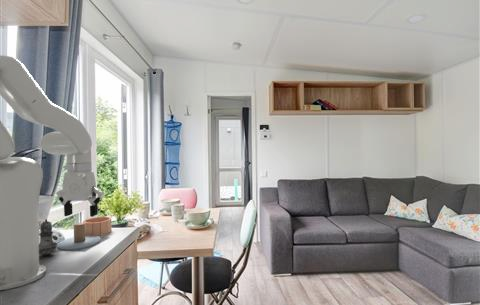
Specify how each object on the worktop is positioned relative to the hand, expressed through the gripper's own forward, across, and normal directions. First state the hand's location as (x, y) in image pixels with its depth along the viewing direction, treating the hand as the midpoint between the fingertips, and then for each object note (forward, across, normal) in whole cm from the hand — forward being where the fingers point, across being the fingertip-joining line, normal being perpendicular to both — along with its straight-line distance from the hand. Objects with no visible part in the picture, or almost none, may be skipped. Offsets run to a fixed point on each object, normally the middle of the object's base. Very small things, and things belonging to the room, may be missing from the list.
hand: (81, 215), depth 95 cm
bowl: (+11, -2, +12) cm, 16 cm away
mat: (+10, 0, -1) cm, 10 cm away
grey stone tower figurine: (+10, -3, -12) cm, 16 cm away
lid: (+10, 0, -1) cm, 10 cm away
